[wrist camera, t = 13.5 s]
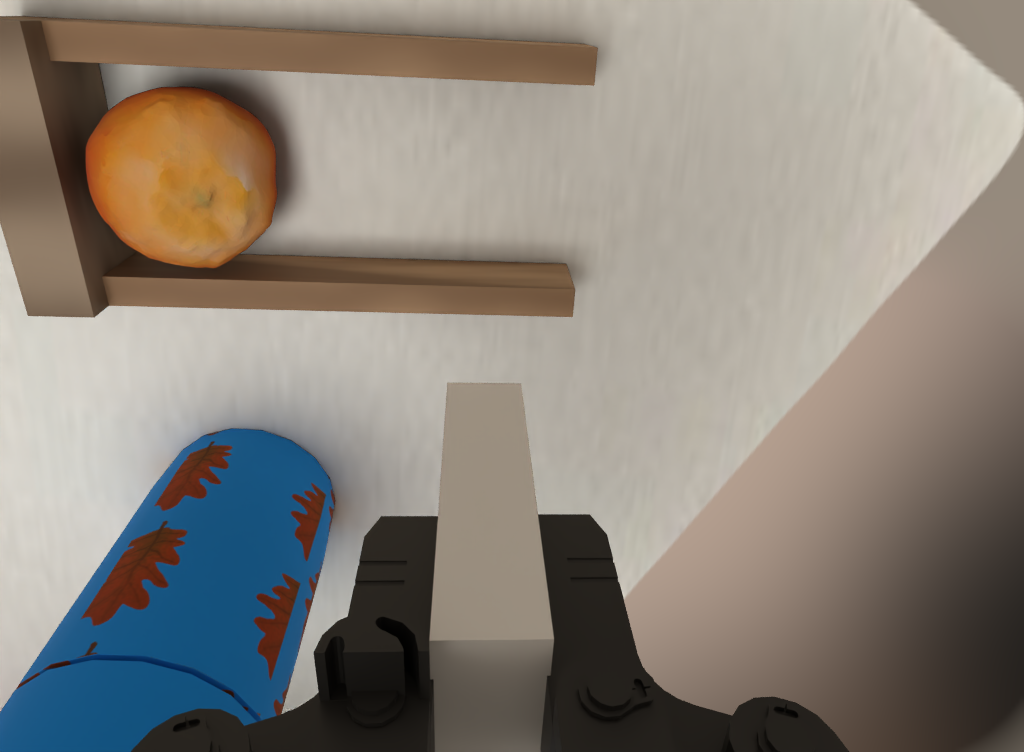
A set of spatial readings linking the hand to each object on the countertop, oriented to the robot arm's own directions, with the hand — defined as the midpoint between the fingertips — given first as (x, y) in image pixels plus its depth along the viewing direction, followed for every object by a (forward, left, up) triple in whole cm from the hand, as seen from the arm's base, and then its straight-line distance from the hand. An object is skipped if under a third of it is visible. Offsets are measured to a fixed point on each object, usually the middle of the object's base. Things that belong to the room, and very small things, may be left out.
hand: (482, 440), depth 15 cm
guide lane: (+1, +8, -24) cm, 26 cm away
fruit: (+1, +13, -25) cm, 28 cm away
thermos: (-20, +14, -25) cm, 35 cm away
